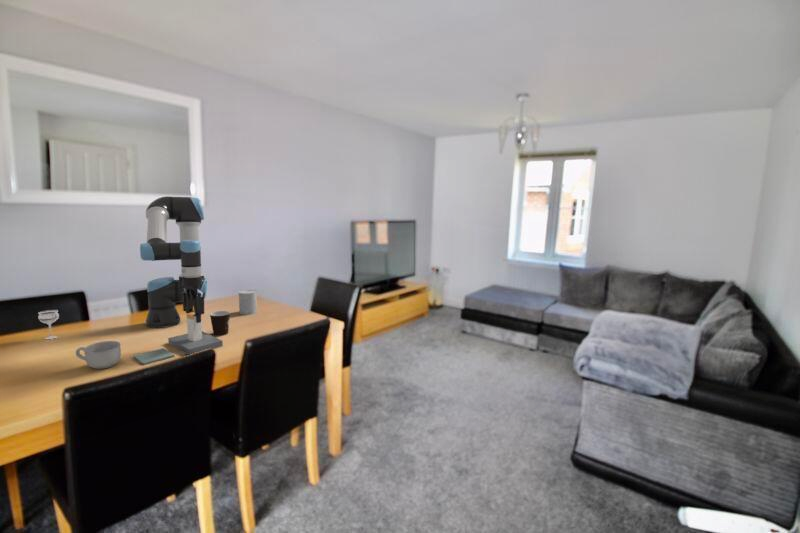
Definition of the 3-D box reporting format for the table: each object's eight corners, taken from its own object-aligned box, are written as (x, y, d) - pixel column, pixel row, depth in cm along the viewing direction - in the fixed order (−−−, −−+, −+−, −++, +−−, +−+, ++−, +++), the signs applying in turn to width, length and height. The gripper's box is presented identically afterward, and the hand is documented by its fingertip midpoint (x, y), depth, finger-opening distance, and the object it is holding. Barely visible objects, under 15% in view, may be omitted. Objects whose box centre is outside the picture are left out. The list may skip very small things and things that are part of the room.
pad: (133, 357, 150) (132, 355, 150) (163, 349, 159) (163, 348, 159) (143, 365, 144) (143, 363, 144) (174, 356, 153) (174, 354, 152)
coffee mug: (222, 337, 176) (222, 316, 175) (206, 335, 178) (205, 315, 177) (238, 329, 188) (237, 310, 186) (222, 328, 189) (222, 308, 188)
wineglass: (65, 336, 171) (62, 310, 169) (47, 341, 164) (44, 314, 163) (54, 334, 173) (51, 309, 171) (36, 339, 166) (33, 313, 164)
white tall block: (188, 340, 165) (186, 313, 163) (196, 337, 168) (195, 311, 167) (193, 341, 163) (192, 315, 161) (202, 339, 166) (201, 313, 165)
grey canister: (260, 312, 219) (260, 291, 217) (246, 315, 211) (245, 294, 209) (250, 309, 224) (249, 289, 222) (235, 312, 216) (235, 291, 214)
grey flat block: (168, 343, 167) (168, 338, 166) (200, 335, 178) (200, 330, 177) (189, 355, 155) (188, 349, 154) (222, 346, 166) (222, 340, 165)
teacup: (128, 360, 148) (127, 340, 147) (108, 372, 137) (106, 351, 136) (92, 359, 147) (90, 340, 146) (68, 371, 137) (66, 350, 135)
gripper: (171, 274, 162) (174, 327, 166) (195, 279, 154) (198, 334, 158) (188, 272, 169) (191, 322, 172) (212, 277, 160) (214, 329, 164)
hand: (194, 328), depth 165 cm, fingers closed on white tall block, 4 cm apart
